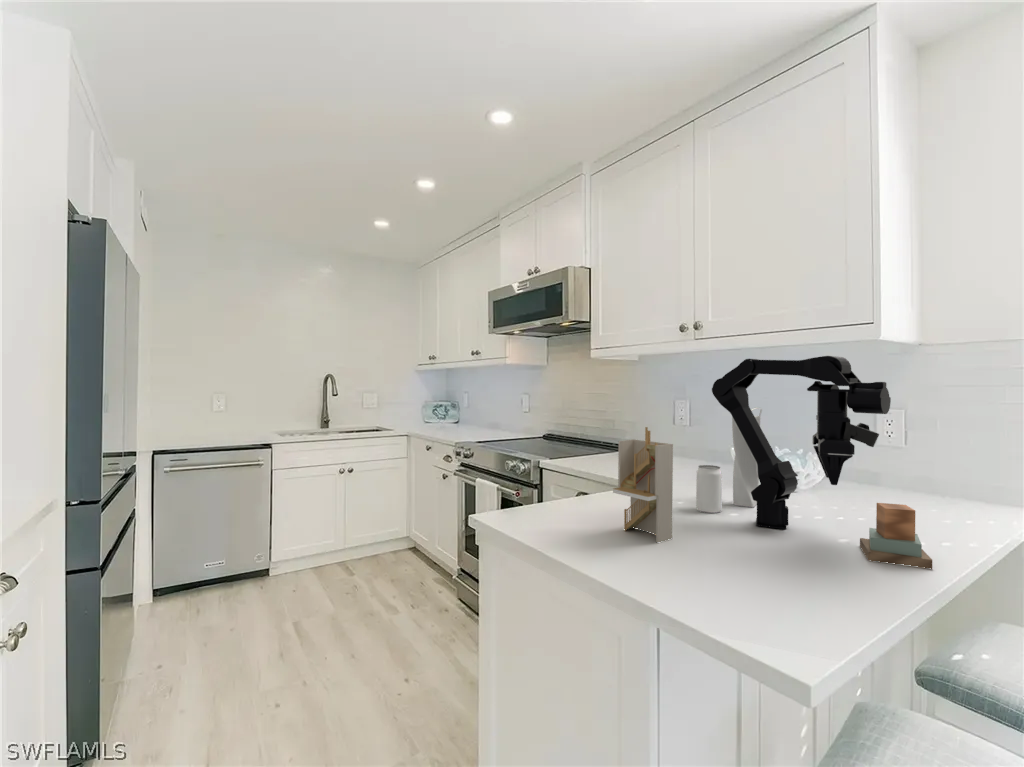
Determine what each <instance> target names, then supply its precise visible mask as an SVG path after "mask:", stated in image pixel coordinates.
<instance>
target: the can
mask: <svg viewBox="0 0 1024 767" xmlns="http://www.w3.org/2000/svg"><path fill="white" fill-rule="evenodd" d="M722 474H723V473H722V471H721V466H718V465H713V464H711V465H710V464H699V465H698V468H697V470H696V485H695V486H696V488H695V489H696V491H695V492H696V494H695V495H696V497H695V498H696V502H695V504H696V505H695V506H696V510H697V511H699V512H700V511H701V513H704V512H705V514H719V513H721V512H722V510H723V509H722V505H723V502H722V501H723V480H722V479H723V475H722Z"/></svg>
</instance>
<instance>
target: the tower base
mask: <svg viewBox="0 0 1024 767" xmlns="http://www.w3.org/2000/svg"><path fill="white" fill-rule="evenodd" d="M859 547H860V549H861V548H862V549H861V551H862V550H863V551H862V553H863V554H864V553H865V554H864V556H865V555H866V556H865V558H866V559H867V558H868V559H867V561H868V560H871V561H870V562H873V561H880V562H879V563H881V562H888V563H895V564H894V565H896V564H904V565H911V566H918V567H925V568H924V569H926V568H931V569H930V570H933V559H932V558H931V556H929V554H927V553H926V551H924V549H923V548H922V557H915V556H908V555H902V554H895V553H889V552H882V551H875V550H871V549H870V541H869V538H864V537H859ZM888 563H887V564H888ZM911 566H910V567H911ZM918 567H917V568H918Z"/></svg>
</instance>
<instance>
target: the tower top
mask: <svg viewBox="0 0 1024 767" xmlns="http://www.w3.org/2000/svg"><path fill="white" fill-rule="evenodd" d="M868 532H869V534H868V535H869V538H868V539H869V541H870V549H871V550H875V551H882V552H889V553H895V554H902V555H908V556H915V557H922V549H923V548H922V546H923V545H922V542H921V540H920V537H919V536H918V534H917V533H915V541H908V540H897V539H886V538H884V537H882V536H881V535H880V534H879V533H878V532H876V528H874V527H869V529H868Z"/></svg>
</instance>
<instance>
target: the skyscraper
mask: <svg viewBox="0 0 1024 767" xmlns="http://www.w3.org/2000/svg"><path fill="white" fill-rule="evenodd" d="M750 409H751V408H750ZM754 410H759V415H754V417H755V418H756V420H757V422H758V424H759V426H760V427H761V419H762V418H761V416H762V412H763V408H762V407H759V406H757V407H752V409H751V411H752V412H753V411H754ZM731 420H732V422H731V424H732V425H731V426H732V427H731V428H732V430H731V431H732V442H733V451H734V461H733V472H732V474H733V475H732V476H733V477H732V502H733V504H732V505H734V506H739V507H747V508H753V509H754V508H755V507H757V501H754V500H753V498H752V495H751V491H753V490H754V489H755V488H756V487H758V486H759V485H760V484H759V483H760V481H759V478H758V467H757V462H756V460H755V458H754V457H753V455H752V453H751V451H750V449H749V447H748V445H747V443H746V441H745V439H744V438H743V436H742V434H741V432H740V430H739V428H738V426H737V424H736V422H735V421H734V419H733V417H732V416H731Z"/></svg>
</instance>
